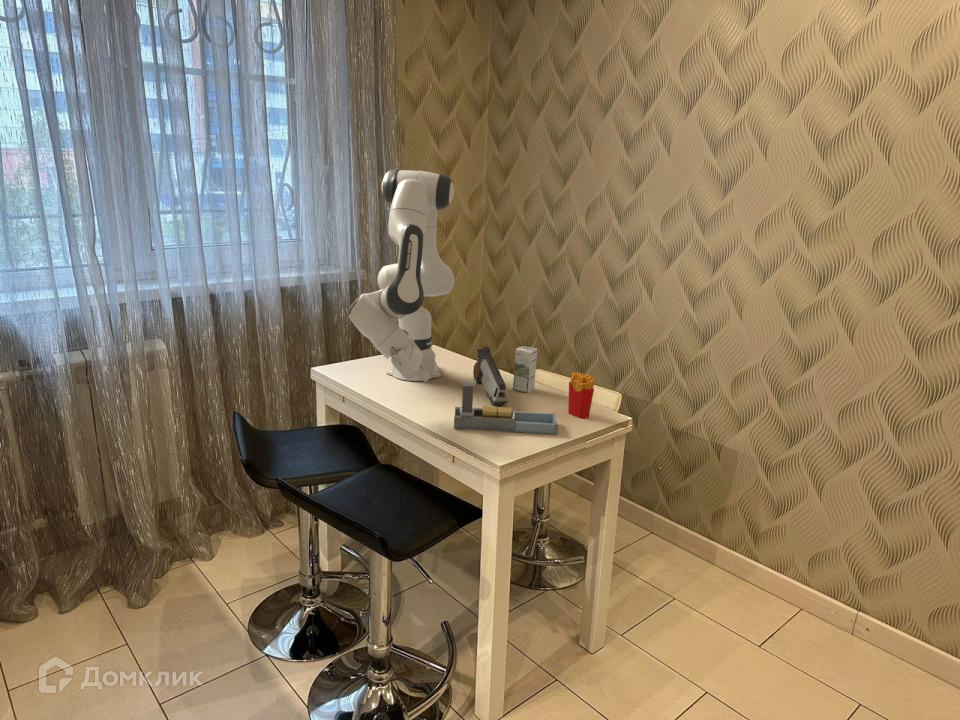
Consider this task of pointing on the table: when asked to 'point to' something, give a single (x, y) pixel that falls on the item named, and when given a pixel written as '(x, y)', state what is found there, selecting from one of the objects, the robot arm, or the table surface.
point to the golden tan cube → (489, 411)
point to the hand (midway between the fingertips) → (427, 379)
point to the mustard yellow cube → (504, 412)
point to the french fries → (580, 395)
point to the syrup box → (524, 369)
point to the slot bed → (482, 422)
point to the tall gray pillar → (467, 399)
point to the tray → (535, 423)
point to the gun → (489, 377)
